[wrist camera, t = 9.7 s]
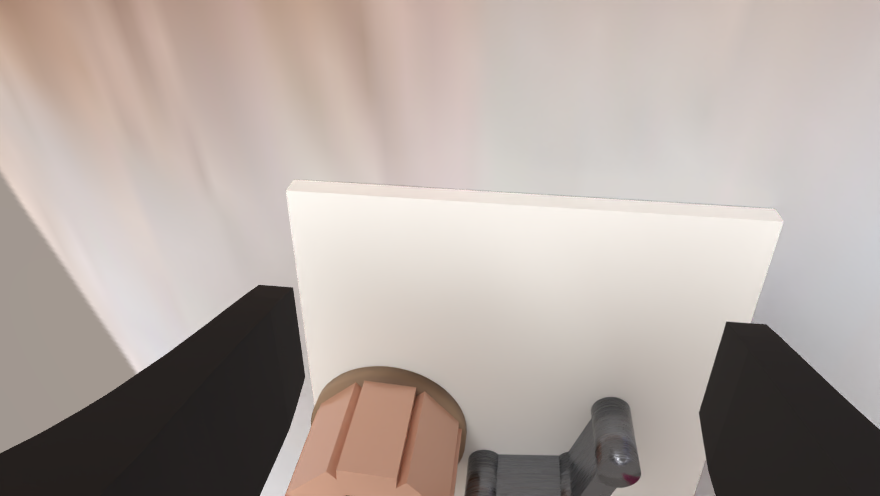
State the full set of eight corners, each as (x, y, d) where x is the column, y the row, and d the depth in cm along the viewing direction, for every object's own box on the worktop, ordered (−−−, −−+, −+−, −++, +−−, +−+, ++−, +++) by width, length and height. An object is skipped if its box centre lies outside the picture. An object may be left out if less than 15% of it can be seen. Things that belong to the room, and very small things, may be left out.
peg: (468, 373, 24) (454, 491, 19) (464, 482, 27) (451, 605, 22) (308, 359, 24) (259, 470, 20) (322, 467, 27) (282, 584, 23)
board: (775, 208, 20) (783, 221, 19) (671, 535, 28) (675, 552, 27) (293, 179, 21) (285, 190, 21) (332, 497, 30) (328, 513, 29)
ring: (465, 393, 23) (454, 486, 20) (455, 492, 26) (443, 588, 23) (315, 374, 24) (279, 462, 20) (321, 473, 27) (290, 565, 23)
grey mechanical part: (633, 398, 23) (644, 461, 21) (613, 486, 26) (621, 551, 23) (471, 384, 24) (464, 443, 22) (467, 471, 26) (461, 533, 24)
